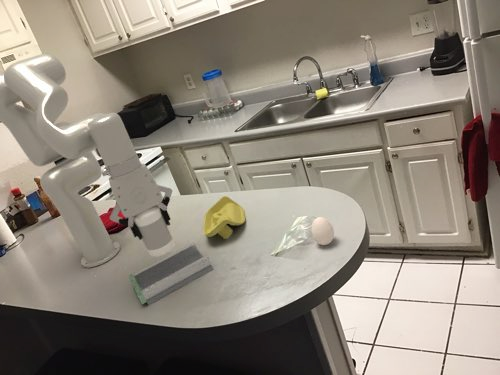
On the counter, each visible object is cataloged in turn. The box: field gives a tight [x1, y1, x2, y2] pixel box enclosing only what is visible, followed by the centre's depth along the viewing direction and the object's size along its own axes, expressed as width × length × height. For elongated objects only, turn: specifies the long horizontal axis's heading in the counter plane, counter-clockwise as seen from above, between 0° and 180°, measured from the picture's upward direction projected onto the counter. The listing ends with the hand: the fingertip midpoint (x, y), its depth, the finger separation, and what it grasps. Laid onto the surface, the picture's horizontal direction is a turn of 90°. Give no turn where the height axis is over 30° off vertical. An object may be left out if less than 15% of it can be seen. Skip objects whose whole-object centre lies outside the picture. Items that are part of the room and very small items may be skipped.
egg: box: [310, 216, 335, 246], centre depth 104 cm, size 5×5×7 cm
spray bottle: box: [133, 205, 176, 258], centre depth 106 cm, size 7×7×18 cm
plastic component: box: [202, 195, 246, 240], centre depth 128 cm, size 20×7×10 cm
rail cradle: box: [128, 242, 214, 306], centre depth 112 cm, size 12×19×4 cm, turn 116°
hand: (153, 230), depth 107 cm, fingers closed on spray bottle, 6 cm apart
